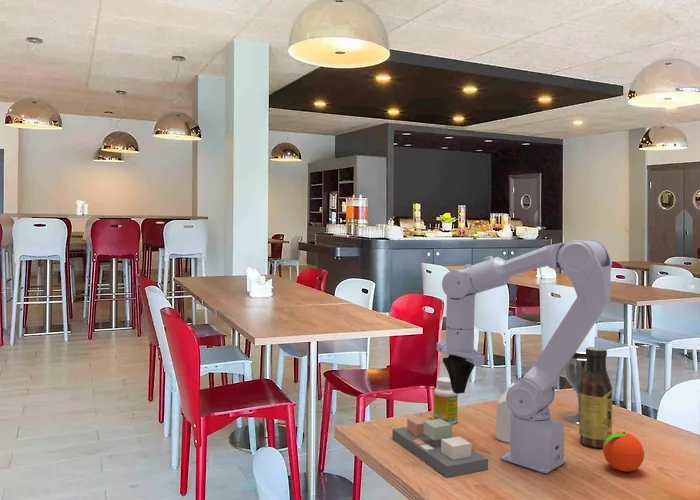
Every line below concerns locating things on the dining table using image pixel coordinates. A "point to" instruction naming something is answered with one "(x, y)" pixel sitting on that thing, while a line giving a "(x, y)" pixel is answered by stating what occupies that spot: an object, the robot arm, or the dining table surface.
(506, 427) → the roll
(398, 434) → the grey key panel base
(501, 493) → the dining table surface
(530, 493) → the dining table surface
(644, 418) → the dining table surface
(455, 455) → the cream key
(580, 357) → the wine glass
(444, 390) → the supplement bottle
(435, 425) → the sage key
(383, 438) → the dining table surface
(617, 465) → the clementine
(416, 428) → the terracotta key
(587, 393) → the sauce bottle
